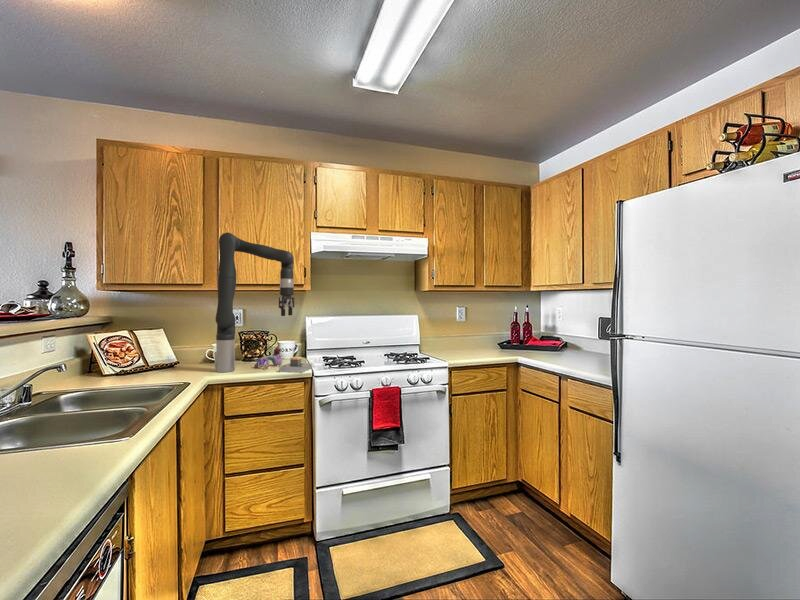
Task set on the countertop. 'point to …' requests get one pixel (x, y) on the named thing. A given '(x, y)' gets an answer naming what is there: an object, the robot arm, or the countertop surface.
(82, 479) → the countertop surface
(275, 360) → the toy
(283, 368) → the socket plate
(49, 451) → the countertop surface
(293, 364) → the plug
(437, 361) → the countertop surface
